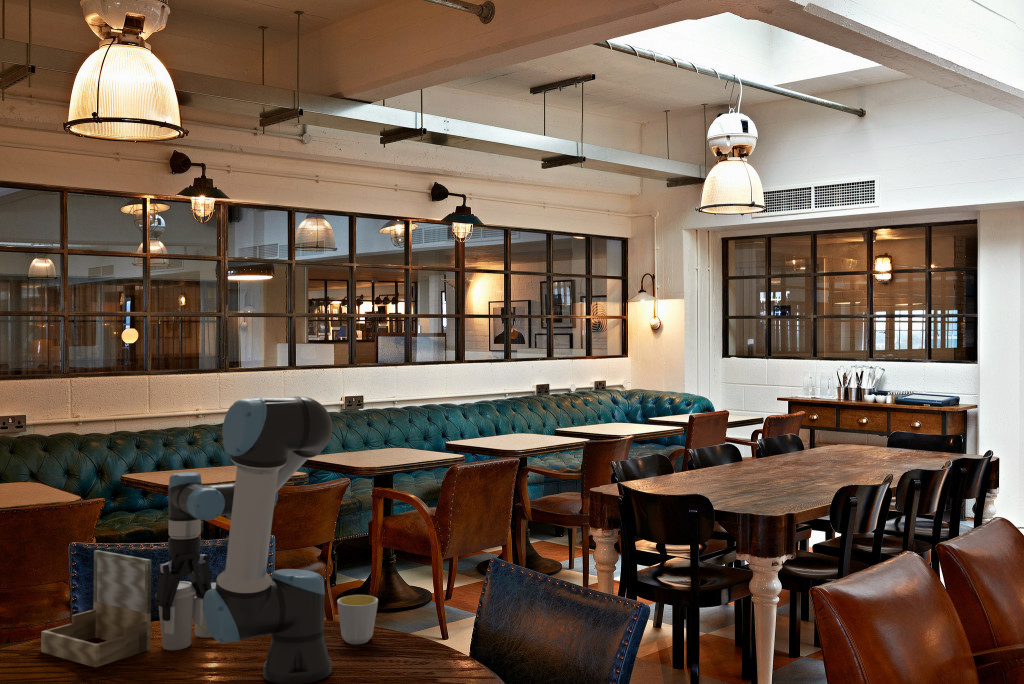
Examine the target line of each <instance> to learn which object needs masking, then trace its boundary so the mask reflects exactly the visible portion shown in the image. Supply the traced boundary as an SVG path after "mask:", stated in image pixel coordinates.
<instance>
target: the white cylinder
mask: <svg viewBox="0 0 1024 684" xmlns="http://www.w3.org/2000/svg"><path fill="white" fill-rule="evenodd" d="M211 588H212V589H215V588H216V582H211ZM194 597H197V596H196V594H194ZM194 636H196V637H198V638H213V636H212V635H211V633H210V631H209V629H208V627H207V624H206V620H205V616H204V610H203V625H196V624H194Z"/></svg>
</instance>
